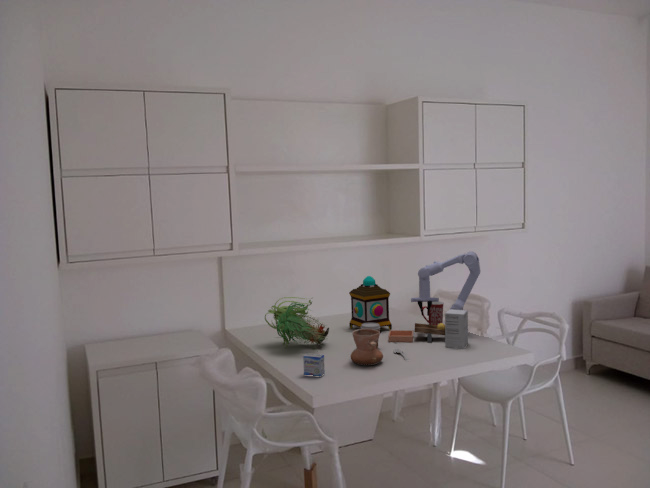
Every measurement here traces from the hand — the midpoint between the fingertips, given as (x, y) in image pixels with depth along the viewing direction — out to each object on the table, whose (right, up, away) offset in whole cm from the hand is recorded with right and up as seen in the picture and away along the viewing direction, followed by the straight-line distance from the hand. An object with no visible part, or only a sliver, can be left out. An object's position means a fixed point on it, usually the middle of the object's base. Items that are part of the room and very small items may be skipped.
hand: (425, 315), depth 299 cm
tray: (-14, -11, -11) cm, 21 cm away
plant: (-65, -14, -22) cm, 70 cm away
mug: (+7, -8, +13) cm, 17 cm away
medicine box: (-58, -17, -64) cm, 88 cm away
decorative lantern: (-28, -10, +12) cm, 32 cm away
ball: (+6, -4, -15) cm, 16 cm away
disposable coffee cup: (-31, -13, -27) cm, 43 cm away
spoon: (-17, -14, -41) cm, 47 cm away
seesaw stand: (0, -11, -13) cm, 17 cm away
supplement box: (+11, -12, -26) cm, 31 cm away
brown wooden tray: (+1, -7, -11) cm, 13 cm away
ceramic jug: (-35, -15, -48) cm, 62 cm away
